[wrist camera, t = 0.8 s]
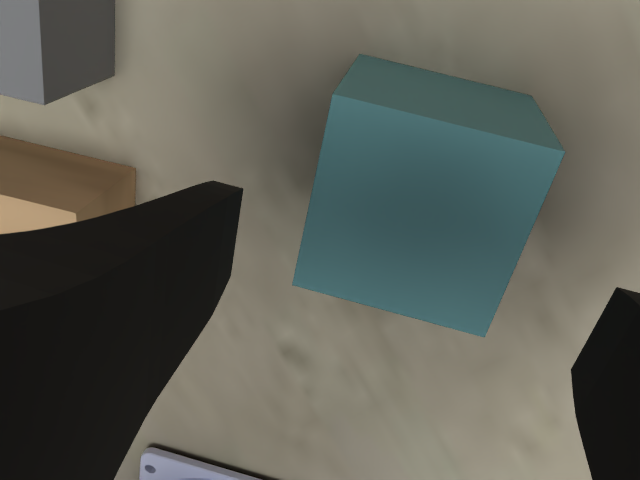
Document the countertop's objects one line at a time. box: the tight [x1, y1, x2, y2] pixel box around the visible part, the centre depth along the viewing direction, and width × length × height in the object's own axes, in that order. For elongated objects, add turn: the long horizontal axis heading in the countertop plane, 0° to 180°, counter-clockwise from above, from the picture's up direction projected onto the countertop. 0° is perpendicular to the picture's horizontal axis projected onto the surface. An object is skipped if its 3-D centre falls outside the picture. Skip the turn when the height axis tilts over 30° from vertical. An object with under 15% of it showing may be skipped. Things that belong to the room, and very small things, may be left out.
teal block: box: [292, 54, 565, 337], centre depth 15 cm, size 5×5×5 cm
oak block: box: [0, 136, 136, 234], centre depth 20 cm, size 8×8×4 cm
